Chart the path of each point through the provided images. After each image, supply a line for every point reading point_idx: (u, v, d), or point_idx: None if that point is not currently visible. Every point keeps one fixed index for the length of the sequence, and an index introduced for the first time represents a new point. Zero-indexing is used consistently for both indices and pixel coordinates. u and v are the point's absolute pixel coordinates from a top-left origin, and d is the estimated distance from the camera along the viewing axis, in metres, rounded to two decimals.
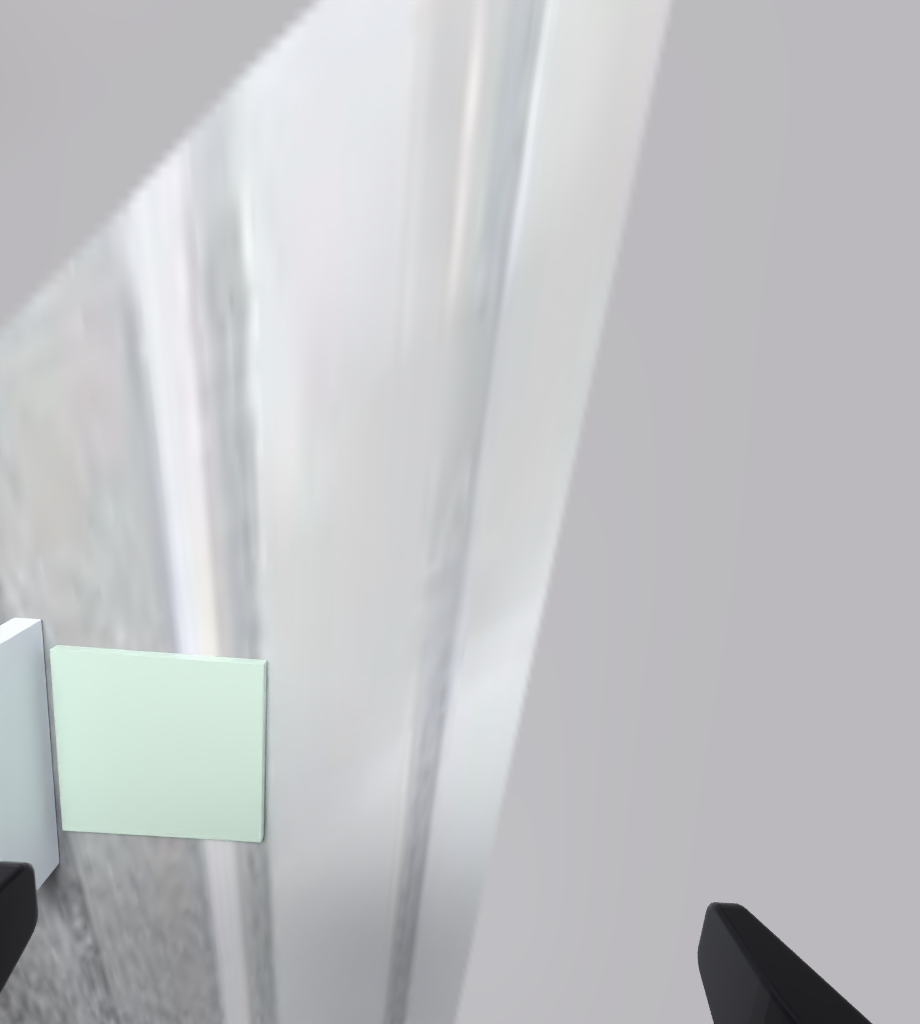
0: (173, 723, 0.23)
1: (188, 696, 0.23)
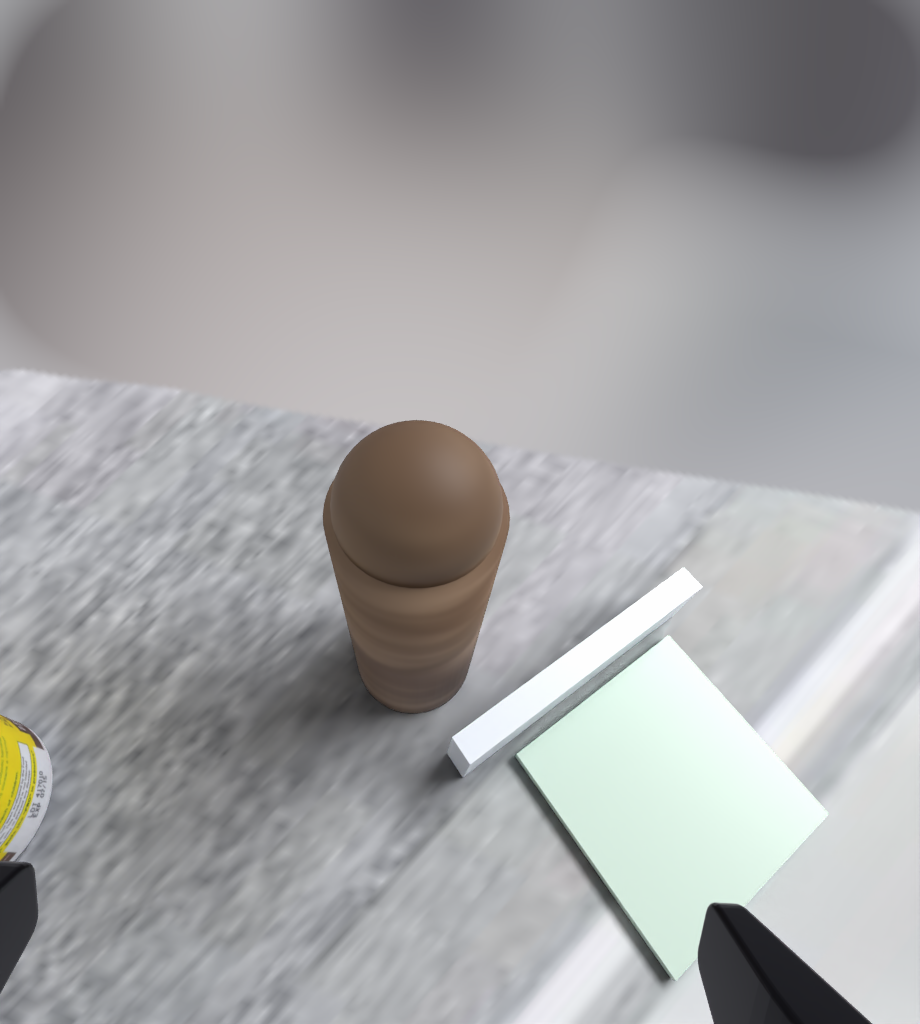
0: (705, 776, 0.21)
1: (740, 769, 0.22)
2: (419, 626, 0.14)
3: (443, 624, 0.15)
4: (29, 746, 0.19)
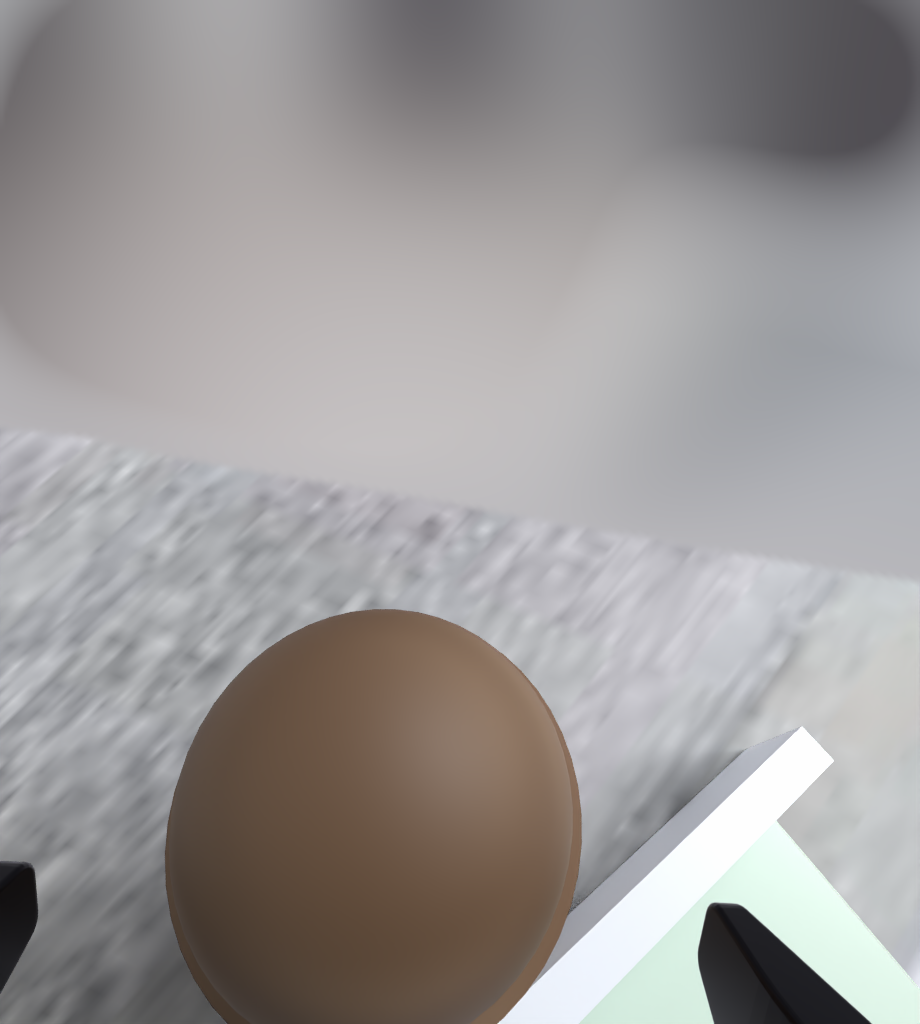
0: None
1: None
2: None
3: None
4: None
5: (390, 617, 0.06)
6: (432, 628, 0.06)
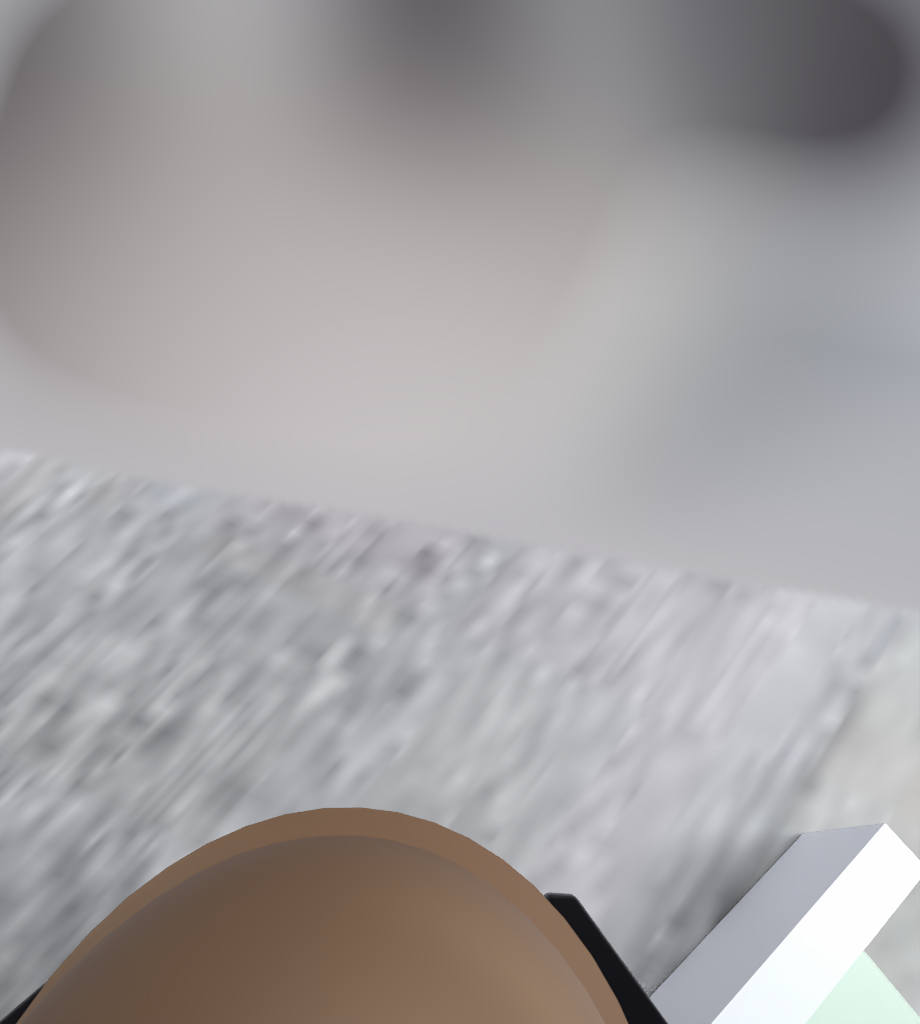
0: None
1: None
2: None
3: None
4: None
5: (321, 919, 0.03)
6: (404, 948, 0.03)
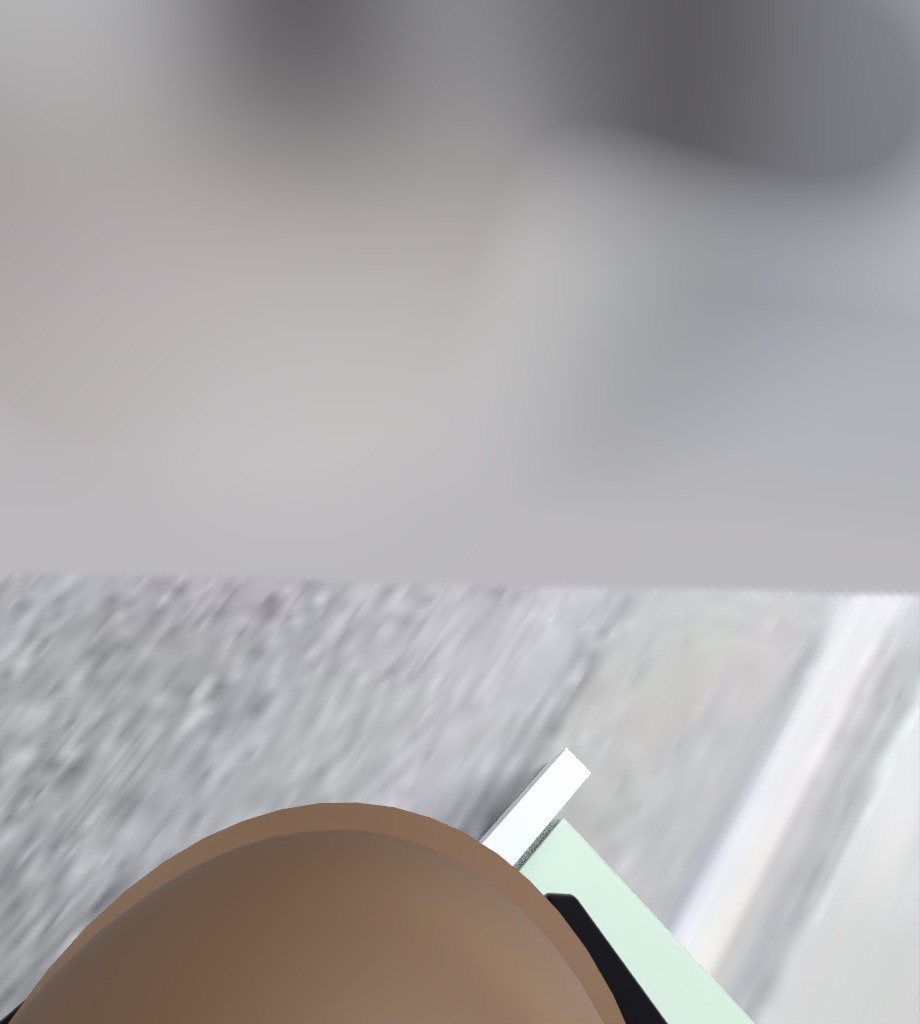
0: None
1: (660, 998, 0.18)
2: None
3: None
4: None
5: (315, 912, 0.03)
6: (398, 940, 0.03)
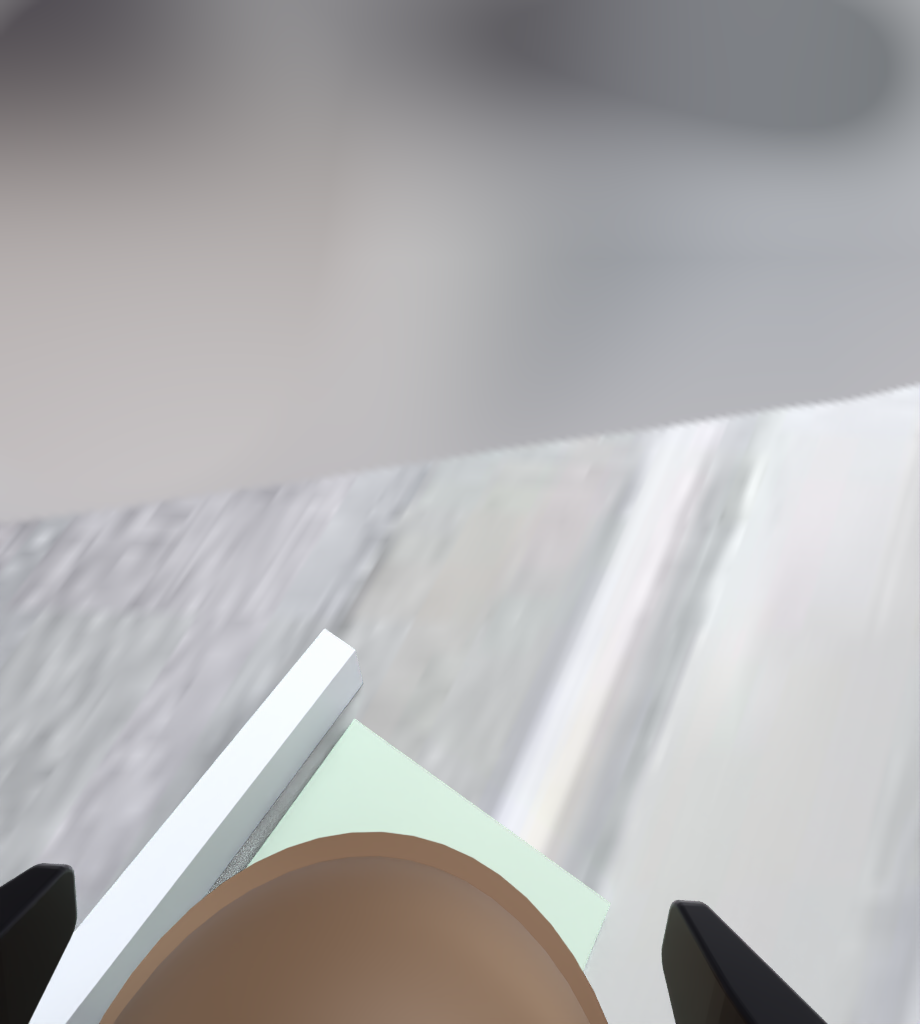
0: None
1: None
2: None
3: None
4: None
5: (363, 930, 0.04)
6: (428, 952, 0.04)
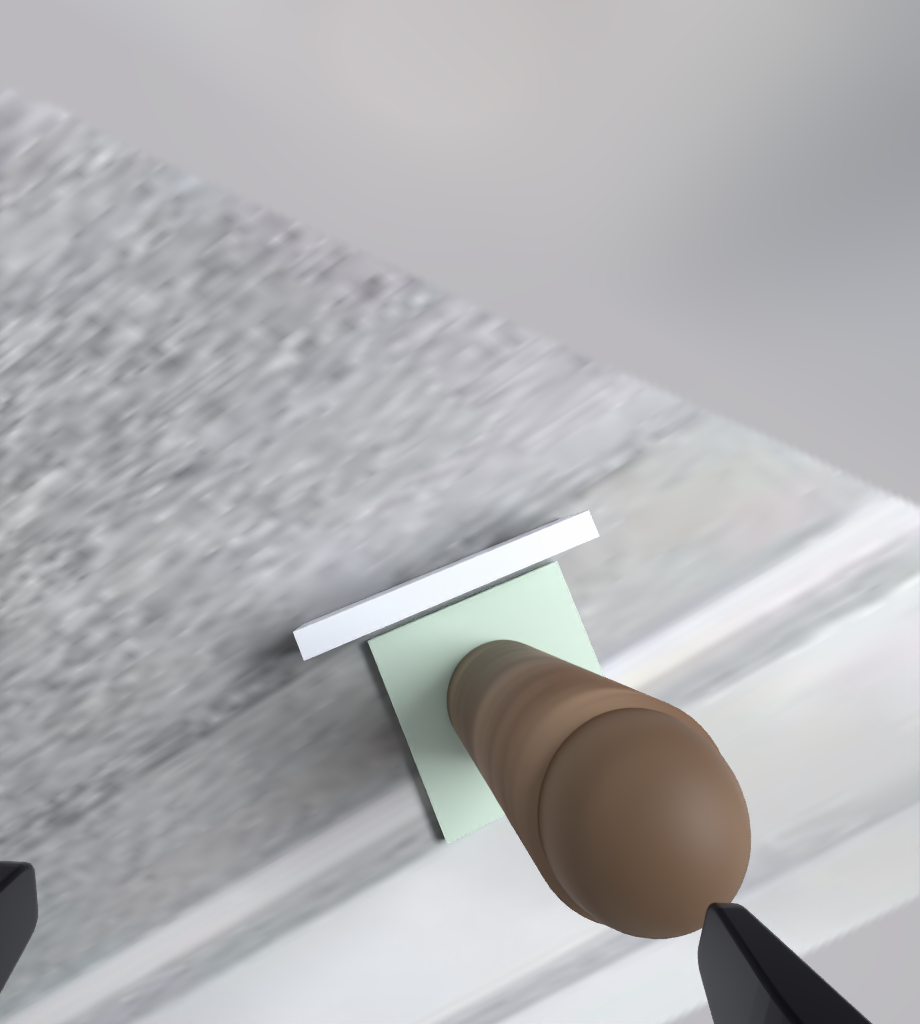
0: None
1: None
2: None
3: None
4: None
5: (715, 765, 0.11)
6: (731, 785, 0.11)
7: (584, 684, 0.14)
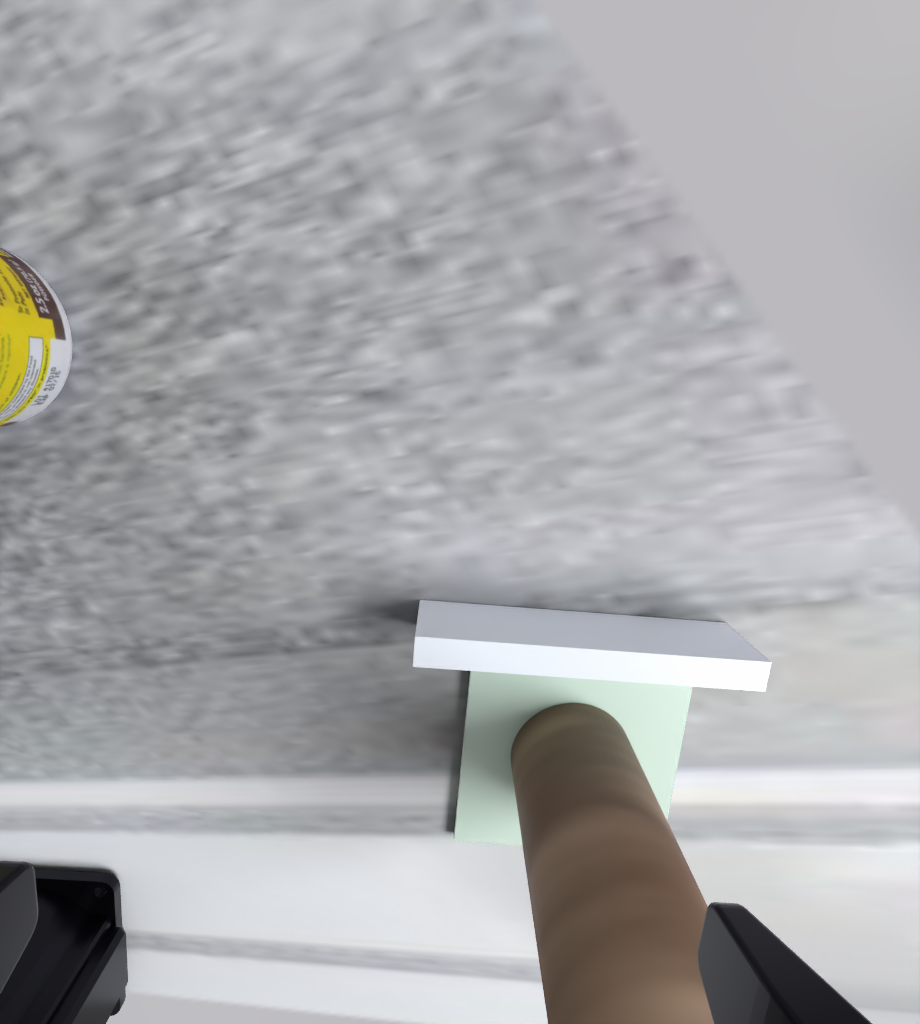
0: None
1: None
2: None
3: None
4: (45, 340, 0.17)
5: None
6: None
7: (695, 958, 0.12)
